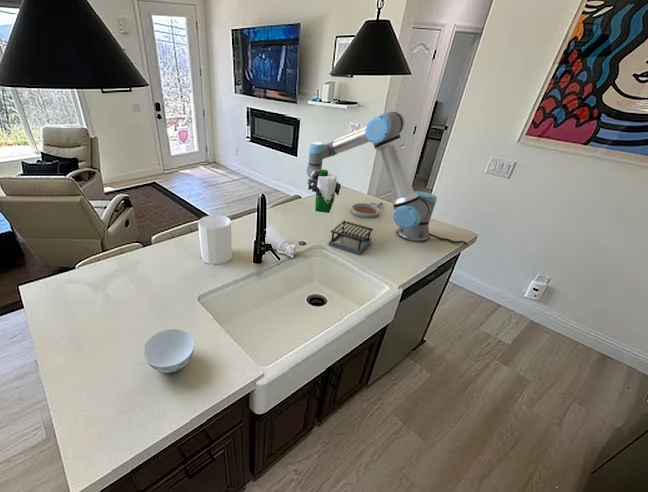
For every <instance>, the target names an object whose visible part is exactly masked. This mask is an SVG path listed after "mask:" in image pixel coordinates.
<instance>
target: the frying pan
mask: <svg viewBox="0 0 648 492" xmlns="http://www.w3.org/2000/svg"><path fill="white" fill-rule="evenodd" d="M380 208H383V201H380V202H379V203H376V202H370V203H364V202H359V203H354V204H353V205H352V206H351V207H350V210H351V213H352V214H353V215H354V216H357V217H360V218H365V219H372V218H373V219H374V218H376V217H378V216H379V214H380V213H381V209H380Z"/></svg>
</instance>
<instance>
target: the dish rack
mask: <svg viewBox="0 0 648 492" xmlns="http://www.w3.org/2000/svg"><path fill="white" fill-rule="evenodd" d="M367 231H368V232H367ZM373 231H374V228H371V227H367V226H366V225H365V226H364V225H361V224H357V223H354V222H350V221H347V220H342V221H341V222H340V223H338V225H336V226H335V227H334V228H332V229H331V230H330V233H331V239H330V240H329V242H328V245H329V246H331V247H333V248H337V249H340V250H343V251H345V252H349V253H352V254H356V255H361V254H362V252H363V251H364V250H365V249H366V248H367V247H368V246H369V245H370V244H371V241H372V238H371V234H372V232H373ZM364 234H365V235H364ZM363 235H364V236H363Z"/></svg>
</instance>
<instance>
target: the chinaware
mask: <svg viewBox="0 0 648 492" xmlns="http://www.w3.org/2000/svg"><path fill="white" fill-rule="evenodd" d="M194 351H195V340H194V337H193V336H192V334H191V333H189V332H188V331H186V330H184V329H179V328H168V329H164V330H161V331H158V332H156V333H154V334H153V335H152V336H150V337H149V338H148V340H146V341H145V343H144V346H143V348H142V355H143V359H144V360H145V361H146V363H147V364H148V365H149V366H150V368H152V369H153V370H155V371H157V372H159V373H160V372H161V373H166V374H169V373H175V372H177V371H180V370H181V369H183V368H184V367H185V366H186V365H188V364H189V362H190V361H191V358H192V356H193V355H194Z"/></svg>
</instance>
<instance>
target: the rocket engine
mask: <svg viewBox="0 0 648 492" xmlns="http://www.w3.org/2000/svg"><path fill="white" fill-rule="evenodd" d="M265 230H266V237H265V242H266V243H268V244H271V245H272V248H273V249H272V250H276V252H277V253H278V254H283V255H286V256H288V257H289V258H291V259H294V258H295V255H296V252H297V253H299V252H300V251H301V250H300V249H299V248H297V245H296V244H295V243H293V244H290V243H288V240H287V239H286V238H285V236H284V234H282V233H281V231H280V229H278V228H277V227H276V226H275V224H272V225H271V224H270V225H269V226H267V227H266V228H265ZM295 251H296V252H295Z"/></svg>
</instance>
